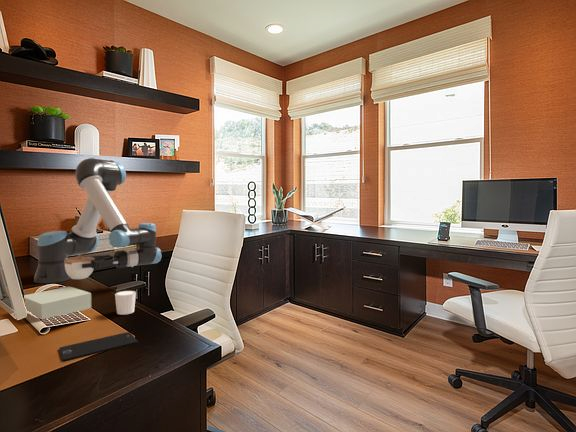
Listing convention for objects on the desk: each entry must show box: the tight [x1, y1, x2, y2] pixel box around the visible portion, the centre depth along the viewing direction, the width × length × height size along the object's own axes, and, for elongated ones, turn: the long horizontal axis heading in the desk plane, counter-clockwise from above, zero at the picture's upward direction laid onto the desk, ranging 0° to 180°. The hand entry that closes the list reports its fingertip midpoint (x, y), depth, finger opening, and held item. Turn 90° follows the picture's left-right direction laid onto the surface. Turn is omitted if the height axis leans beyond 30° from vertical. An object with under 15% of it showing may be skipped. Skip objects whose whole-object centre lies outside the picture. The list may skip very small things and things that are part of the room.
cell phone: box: [58, 331, 138, 362], centre depth 94 cm, size 9×18×1 cm, turn 130°
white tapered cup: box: [114, 290, 137, 316], centre depth 121 cm, size 7×7×7 cm
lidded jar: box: [64, 254, 95, 280], centre depth 139 cm, size 11×11×9 cm
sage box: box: [23, 285, 92, 319], centre depth 122 cm, size 16×16×6 cm
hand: (68, 264), depth 136 cm, fingers closed on lidded jar, 11 cm apart
